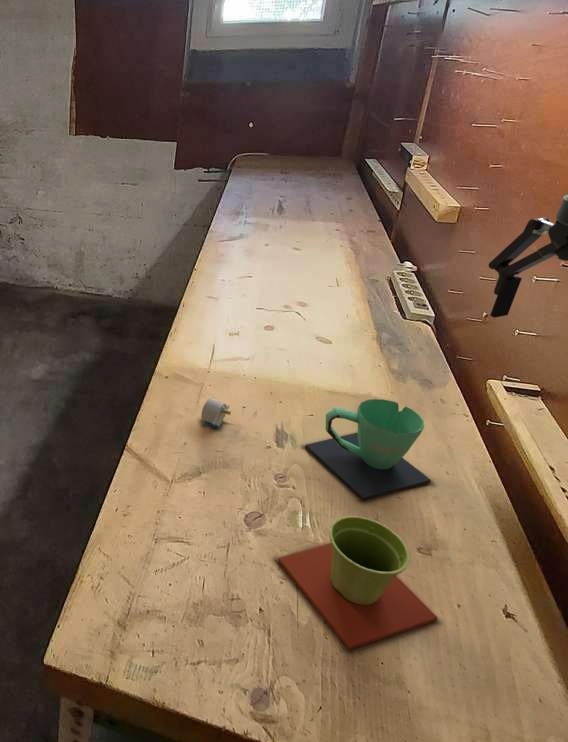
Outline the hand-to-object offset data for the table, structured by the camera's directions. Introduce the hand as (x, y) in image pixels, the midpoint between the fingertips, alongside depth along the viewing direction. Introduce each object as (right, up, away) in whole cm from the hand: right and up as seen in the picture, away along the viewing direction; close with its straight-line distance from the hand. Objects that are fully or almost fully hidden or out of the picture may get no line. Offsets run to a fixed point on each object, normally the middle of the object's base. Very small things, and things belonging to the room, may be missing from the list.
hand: (543, 335), depth 84 cm
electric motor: (-40, -20, +28) cm, 53 cm away
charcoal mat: (-17, -24, +17) cm, 34 cm away
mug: (-17, -24, +18) cm, 34 cm away
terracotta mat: (-32, -36, -5) cm, 48 cm away
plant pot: (-32, -35, -5) cm, 48 cm away
